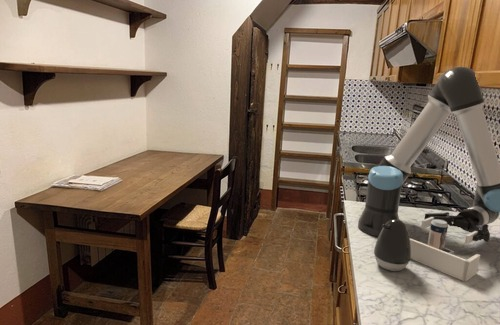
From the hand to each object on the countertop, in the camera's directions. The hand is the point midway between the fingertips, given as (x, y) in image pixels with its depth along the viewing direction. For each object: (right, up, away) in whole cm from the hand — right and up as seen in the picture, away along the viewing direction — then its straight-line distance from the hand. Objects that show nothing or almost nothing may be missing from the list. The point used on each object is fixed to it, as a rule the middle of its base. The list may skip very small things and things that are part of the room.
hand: (443, 231), depth 113 cm
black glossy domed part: (-19, -10, -6) cm, 22 cm away
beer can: (-3, -8, +1) cm, 9 cm away
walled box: (-3, -9, 0) cm, 9 cm away
